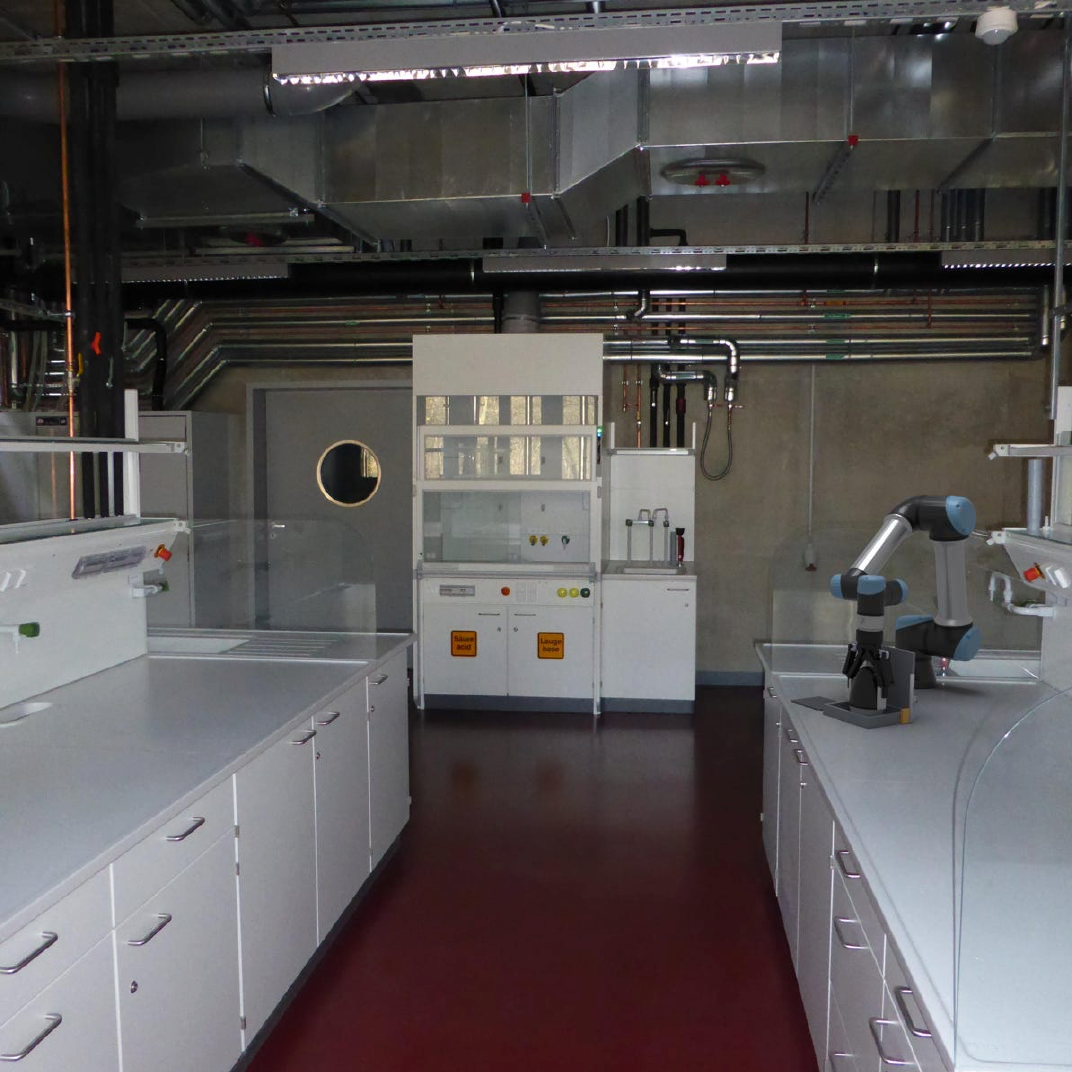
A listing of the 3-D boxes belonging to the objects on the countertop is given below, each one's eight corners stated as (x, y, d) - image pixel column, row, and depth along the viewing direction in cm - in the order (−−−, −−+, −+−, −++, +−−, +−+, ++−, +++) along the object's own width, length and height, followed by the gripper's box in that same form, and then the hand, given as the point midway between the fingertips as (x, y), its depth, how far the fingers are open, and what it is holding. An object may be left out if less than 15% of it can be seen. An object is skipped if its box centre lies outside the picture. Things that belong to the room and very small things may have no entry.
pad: (819, 697, 301) (819, 696, 301) (848, 706, 291) (848, 704, 291) (790, 701, 296) (790, 700, 296) (819, 710, 285) (819, 709, 285)
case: (866, 706, 290) (868, 642, 289) (915, 722, 274) (918, 653, 272) (822, 713, 282) (825, 647, 280) (871, 730, 266) (874, 659, 264)
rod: (886, 686, 307) (887, 692, 307) (881, 689, 306) (882, 696, 306) (916, 694, 296) (918, 701, 297) (911, 698, 295) (913, 704, 296)
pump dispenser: (861, 723, 272) (863, 670, 271) (840, 713, 282) (842, 663, 281) (892, 720, 275) (894, 669, 273) (871, 711, 285) (873, 661, 283)
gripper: (831, 623, 284) (828, 697, 286) (892, 637, 264) (888, 715, 266) (849, 621, 288) (846, 694, 290) (910, 634, 268) (907, 712, 270)
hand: (866, 704), depth 278 cm, fingers closed on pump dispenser, 10 cm apart
